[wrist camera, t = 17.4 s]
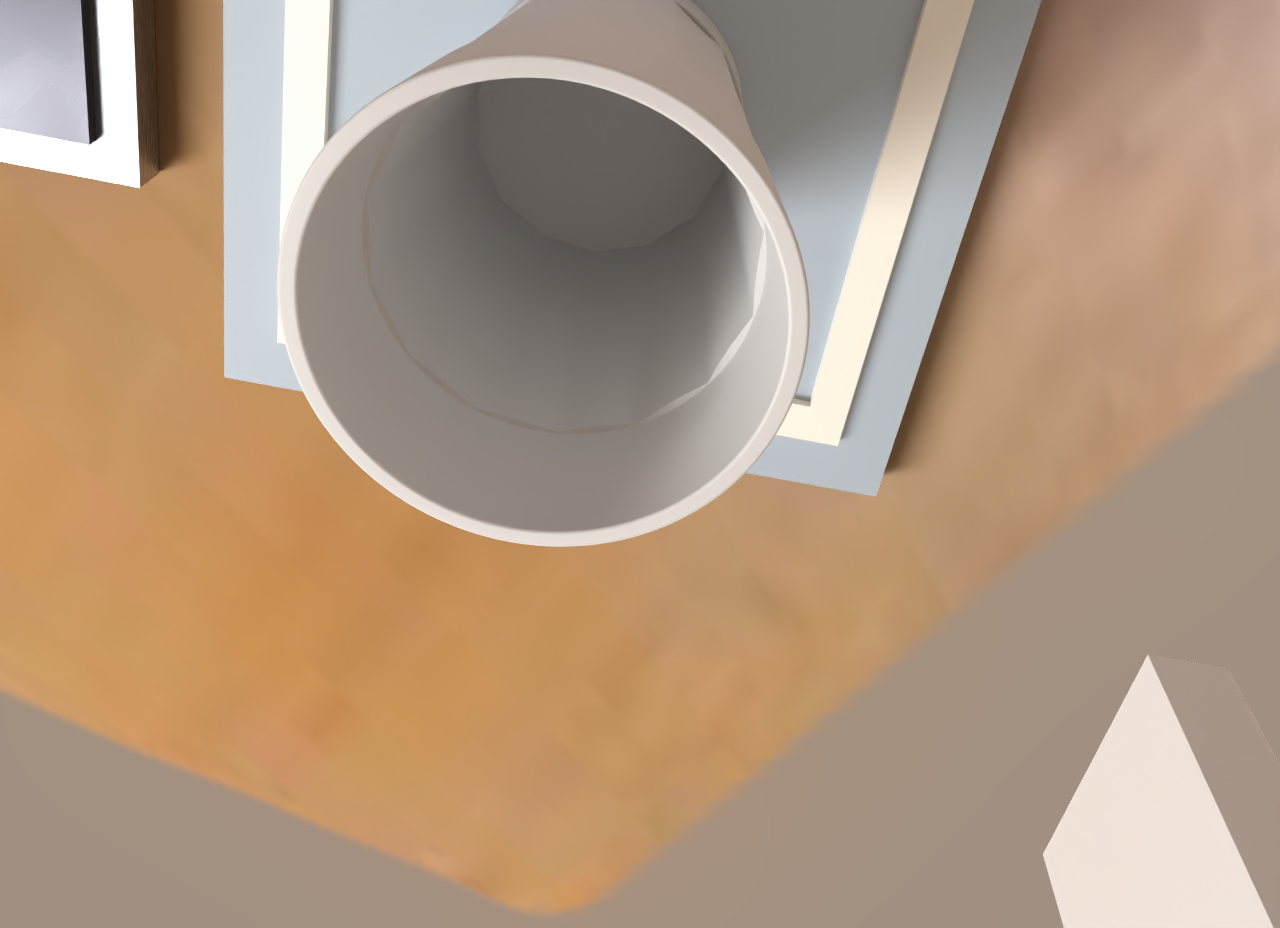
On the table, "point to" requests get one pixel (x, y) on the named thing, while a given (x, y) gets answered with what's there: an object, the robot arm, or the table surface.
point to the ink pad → (80, 88)
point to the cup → (550, 278)
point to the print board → (780, 125)
